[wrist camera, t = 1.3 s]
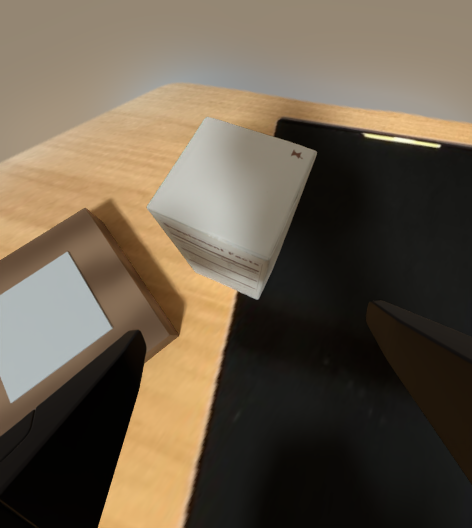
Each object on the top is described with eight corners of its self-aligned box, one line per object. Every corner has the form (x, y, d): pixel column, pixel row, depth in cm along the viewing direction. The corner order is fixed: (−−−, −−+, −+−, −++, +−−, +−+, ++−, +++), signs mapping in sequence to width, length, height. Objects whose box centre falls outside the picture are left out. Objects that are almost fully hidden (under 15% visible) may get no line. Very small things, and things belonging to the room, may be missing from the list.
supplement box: (224, 216, 26) (206, 110, 14) (285, 241, 24) (323, 147, 12) (192, 273, 24) (140, 205, 12) (257, 303, 22) (272, 262, 10)
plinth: (179, 335, 22) (168, 334, 19) (22, 459, 19) (-20, 482, 16) (102, 222, 26) (84, 206, 23) (-35, 309, 23) (-76, 305, 20)
